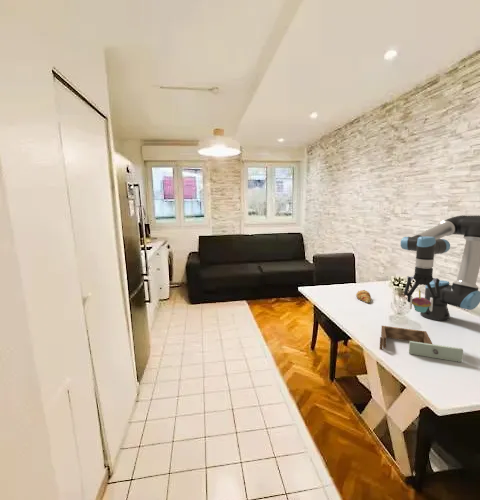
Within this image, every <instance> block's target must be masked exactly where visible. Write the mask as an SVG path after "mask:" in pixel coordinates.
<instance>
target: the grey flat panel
mask: <svg viewBox="0 0 480 500" xmlns="http://www.w3.org/2000/svg"><path fill="white" fill-rule="evenodd" d="M408 343H409V344H408V354H409V355H415V356H416V355H417V356H421V357H426V358H427V357H428V358H433V359H439V360H440V359H441V360H446V361H452V362H457V361H458V363H462V362H463V357H464V356H463V355H464V349H463V348H461V347H454V346H453V347H452V346H446V345H440V344H435V343H434V344H433V343H432V344H427V343H421V342H414V341H408Z"/></svg>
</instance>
